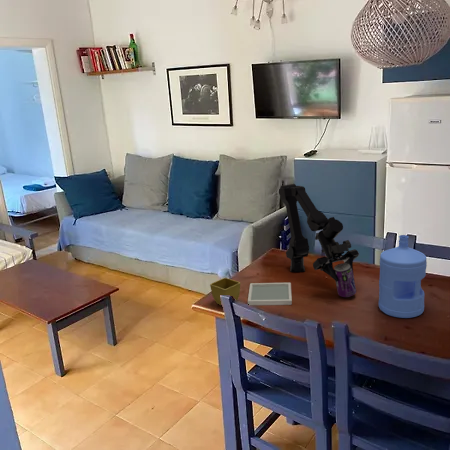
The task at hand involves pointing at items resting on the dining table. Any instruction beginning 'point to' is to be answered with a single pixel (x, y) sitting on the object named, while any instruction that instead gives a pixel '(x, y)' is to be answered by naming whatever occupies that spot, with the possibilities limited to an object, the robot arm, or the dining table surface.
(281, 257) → the dining table surface
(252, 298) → the tray
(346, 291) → the beverage can
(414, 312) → the water jug
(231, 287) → the flower pot
